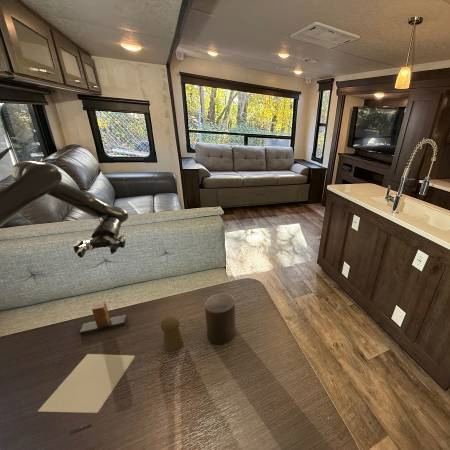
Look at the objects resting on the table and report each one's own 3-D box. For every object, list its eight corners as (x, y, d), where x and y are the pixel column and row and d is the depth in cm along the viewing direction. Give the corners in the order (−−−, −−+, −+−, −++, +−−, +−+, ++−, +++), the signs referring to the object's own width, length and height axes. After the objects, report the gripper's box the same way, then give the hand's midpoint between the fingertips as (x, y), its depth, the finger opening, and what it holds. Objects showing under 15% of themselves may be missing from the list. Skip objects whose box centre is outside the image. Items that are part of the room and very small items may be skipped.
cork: (161, 355, 77) (156, 329, 73) (165, 339, 82) (161, 314, 78) (182, 352, 79) (178, 326, 75) (184, 337, 84) (181, 312, 80)
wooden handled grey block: (81, 338, 80) (73, 314, 76) (84, 329, 83) (77, 305, 80) (125, 327, 85) (119, 305, 81) (127, 319, 89) (121, 297, 85)
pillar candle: (220, 349, 81) (218, 314, 75) (200, 335, 85) (197, 301, 79) (241, 330, 89) (241, 297, 83) (222, 318, 93) (221, 286, 87)
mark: (71, 433, 57) (70, 437, 56) (70, 430, 57) (68, 434, 56) (93, 426, 59) (92, 429, 58) (91, 423, 58) (91, 426, 58)
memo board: (38, 414, 60) (36, 411, 59) (88, 356, 75) (87, 353, 74) (98, 415, 61) (97, 412, 60) (136, 358, 75) (135, 355, 75)
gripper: (80, 226, 92) (65, 246, 79) (126, 223, 98) (119, 240, 85) (85, 244, 95) (72, 266, 82) (129, 239, 101) (123, 259, 88)
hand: (96, 253), depth 83 cm, fingers open, 8 cm apart
